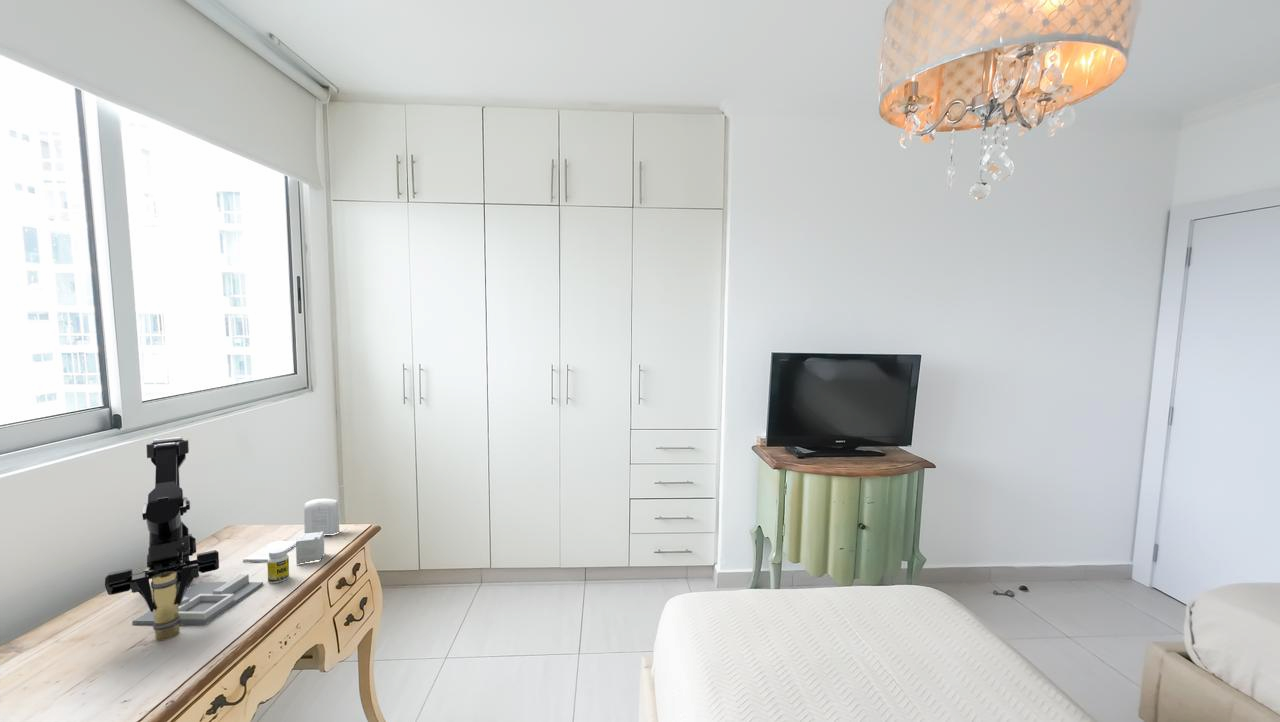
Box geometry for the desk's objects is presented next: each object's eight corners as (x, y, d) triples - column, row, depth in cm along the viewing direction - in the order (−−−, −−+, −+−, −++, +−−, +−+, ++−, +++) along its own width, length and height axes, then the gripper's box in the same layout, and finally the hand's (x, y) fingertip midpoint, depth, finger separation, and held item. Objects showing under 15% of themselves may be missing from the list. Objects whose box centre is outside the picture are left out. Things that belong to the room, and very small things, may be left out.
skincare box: (301, 557, 150) (300, 533, 149) (324, 553, 152) (324, 530, 152) (296, 565, 144) (295, 541, 144) (320, 562, 147) (319, 538, 146)
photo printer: (341, 530, 169) (340, 495, 169) (336, 536, 165) (335, 500, 164) (308, 533, 167) (306, 497, 166) (302, 538, 163) (301, 502, 162)
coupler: (148, 641, 109) (144, 580, 108) (167, 629, 113) (164, 570, 113) (168, 641, 109) (164, 580, 108) (186, 629, 113) (183, 570, 113)
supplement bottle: (277, 584, 133) (276, 554, 133) (263, 583, 134) (262, 553, 134) (293, 576, 138) (292, 547, 138) (279, 574, 139) (278, 545, 139)
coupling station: (132, 624, 115) (131, 611, 115) (200, 584, 133) (199, 574, 133) (205, 624, 115) (204, 612, 115) (263, 585, 133) (262, 574, 133)
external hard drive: (298, 546, 159) (270, 564, 146) (273, 546, 158) (242, 564, 146) (298, 541, 158) (270, 558, 146) (272, 541, 158) (242, 558, 146)
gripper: (103, 538, 107) (98, 609, 99) (216, 517, 119) (219, 579, 111) (110, 560, 113) (106, 629, 105) (217, 538, 125) (220, 598, 118)
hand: (165, 607), depth 110 cm, fingers closed on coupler, 4 cm apart
